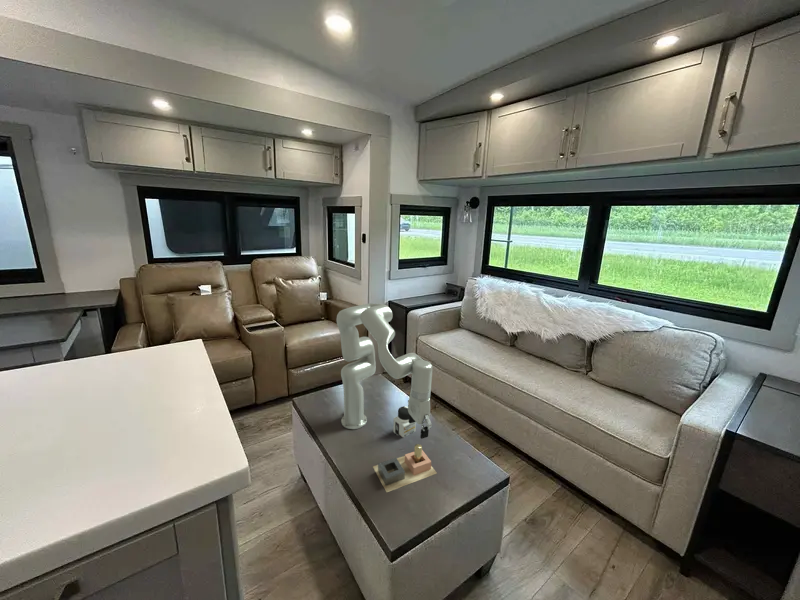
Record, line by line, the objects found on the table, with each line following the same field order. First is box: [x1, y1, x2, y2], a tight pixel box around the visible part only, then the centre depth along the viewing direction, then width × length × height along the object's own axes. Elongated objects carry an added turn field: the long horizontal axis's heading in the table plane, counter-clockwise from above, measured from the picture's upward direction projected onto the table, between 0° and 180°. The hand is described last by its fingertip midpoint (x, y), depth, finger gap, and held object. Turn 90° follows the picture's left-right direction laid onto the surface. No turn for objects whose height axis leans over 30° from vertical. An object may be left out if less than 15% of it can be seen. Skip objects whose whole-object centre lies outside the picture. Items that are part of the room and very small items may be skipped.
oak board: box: [372, 455, 438, 493], centre depth 133 cm, size 14×22×2 cm, turn 116°
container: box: [392, 405, 417, 439], centre depth 155 cm, size 8×8×13 cm
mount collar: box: [377, 457, 405, 485], centre depth 130 cm, size 8×8×4 cm
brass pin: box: [413, 443, 423, 463], centre depth 134 cm, size 3×3×9 cm
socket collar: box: [404, 449, 432, 475], centre depth 135 cm, size 8×8×4 cm
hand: (418, 429), depth 131 cm, fingers open, 9 cm apart
